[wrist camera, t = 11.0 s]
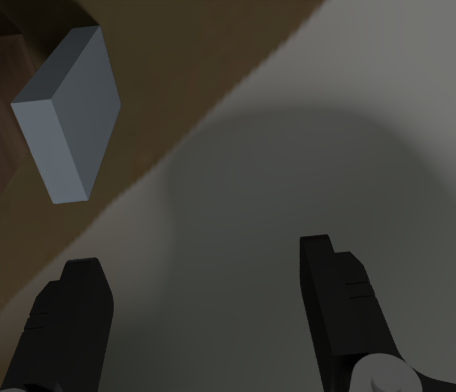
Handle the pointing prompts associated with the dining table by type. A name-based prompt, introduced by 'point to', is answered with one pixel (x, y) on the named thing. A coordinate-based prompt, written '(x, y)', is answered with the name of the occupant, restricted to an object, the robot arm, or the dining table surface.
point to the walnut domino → (4, 94)
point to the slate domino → (70, 114)
